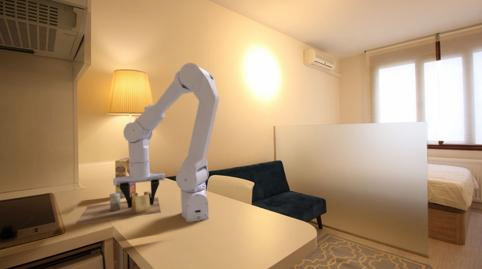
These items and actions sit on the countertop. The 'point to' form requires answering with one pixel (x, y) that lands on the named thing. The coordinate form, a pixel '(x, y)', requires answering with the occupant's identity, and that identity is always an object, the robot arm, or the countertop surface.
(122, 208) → the keyed post board
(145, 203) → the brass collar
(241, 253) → the countertop surface
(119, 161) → the candy box
